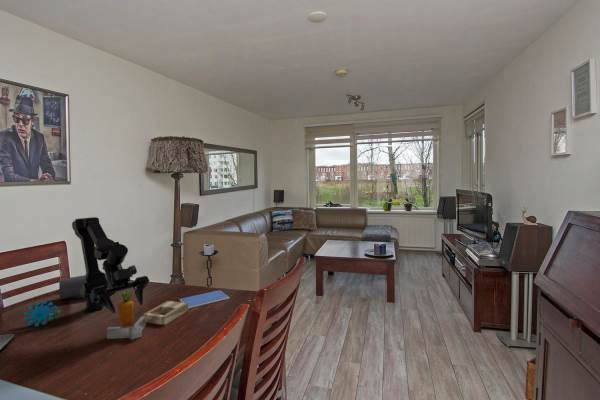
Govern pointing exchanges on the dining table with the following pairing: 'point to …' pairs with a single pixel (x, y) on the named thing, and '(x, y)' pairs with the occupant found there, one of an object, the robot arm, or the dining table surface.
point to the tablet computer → (204, 299)
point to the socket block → (166, 312)
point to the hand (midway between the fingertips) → (128, 308)
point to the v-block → (127, 330)
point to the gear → (41, 313)
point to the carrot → (126, 310)
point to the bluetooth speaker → (72, 286)
